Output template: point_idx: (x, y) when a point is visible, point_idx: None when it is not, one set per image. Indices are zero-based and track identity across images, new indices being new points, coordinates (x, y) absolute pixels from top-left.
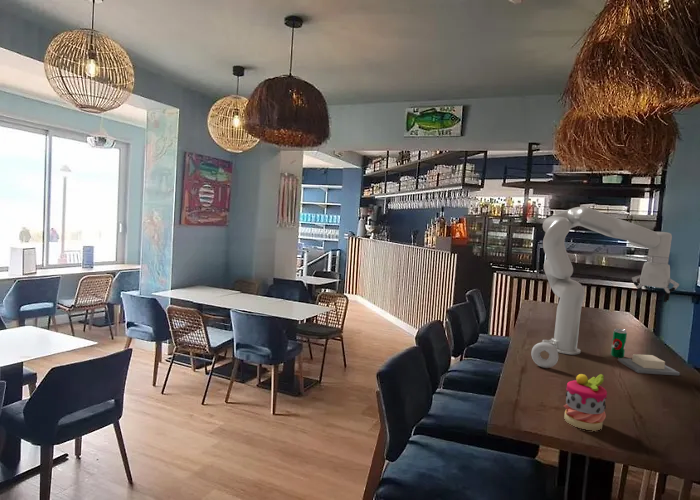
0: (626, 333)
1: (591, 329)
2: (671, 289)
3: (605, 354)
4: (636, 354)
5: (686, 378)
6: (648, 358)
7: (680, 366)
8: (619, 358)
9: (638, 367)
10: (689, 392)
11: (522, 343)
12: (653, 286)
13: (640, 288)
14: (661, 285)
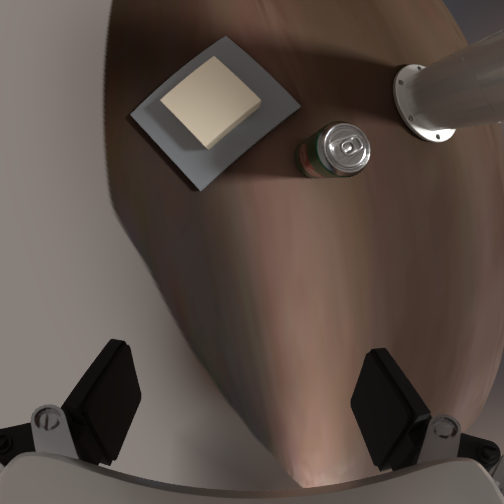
0: (316, 143)
1: None
2: (18, 443)
3: None
4: (250, 105)
5: (118, 109)
6: (208, 89)
7: (144, 225)
8: (296, 103)
9: (229, 56)
10: (116, 18)
11: None
12: (235, 492)
13: (410, 434)
14: (62, 493)
